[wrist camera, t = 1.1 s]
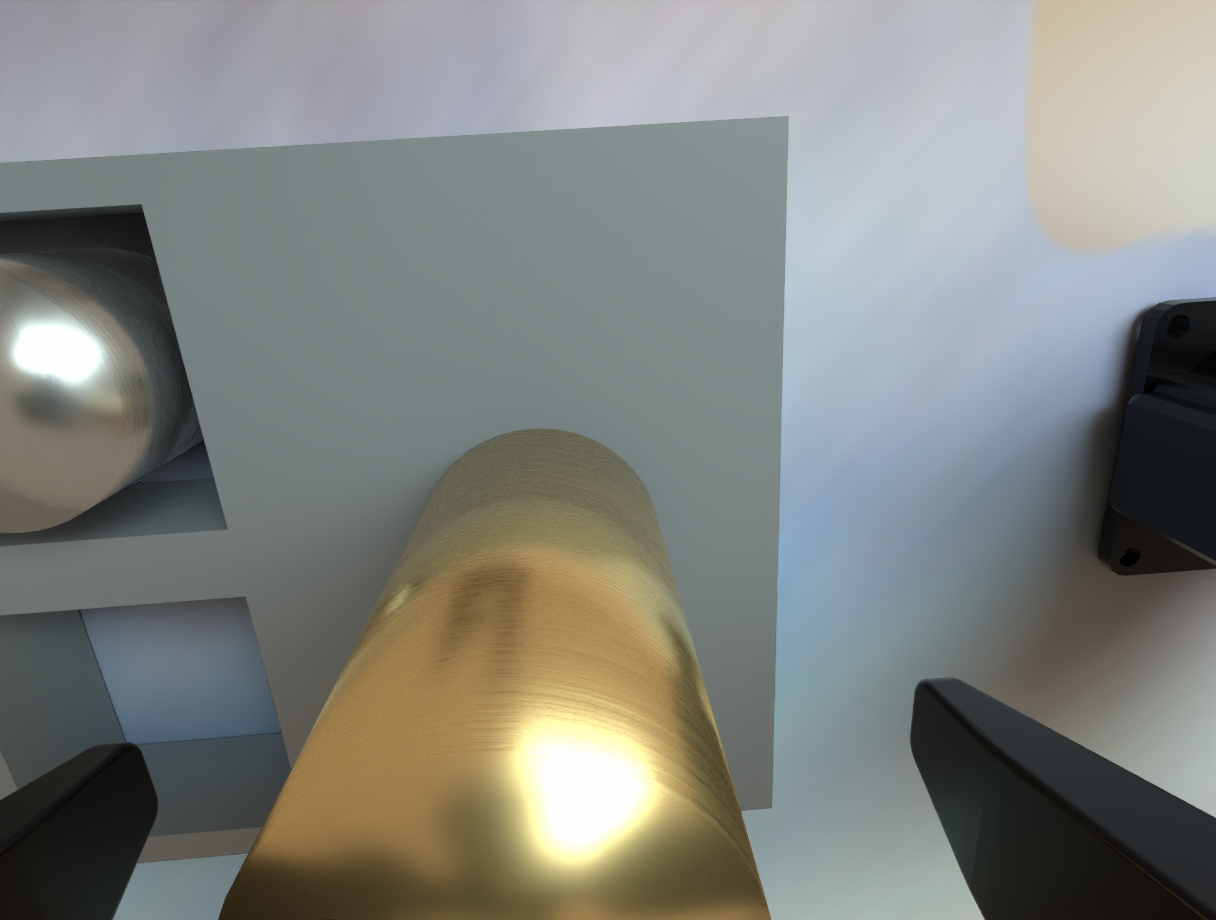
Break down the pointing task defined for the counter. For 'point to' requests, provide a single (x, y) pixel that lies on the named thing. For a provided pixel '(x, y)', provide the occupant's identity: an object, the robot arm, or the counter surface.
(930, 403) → the counter surface
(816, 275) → the counter surface
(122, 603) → the jig
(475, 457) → the brass cylinder
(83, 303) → the chrome sphere
